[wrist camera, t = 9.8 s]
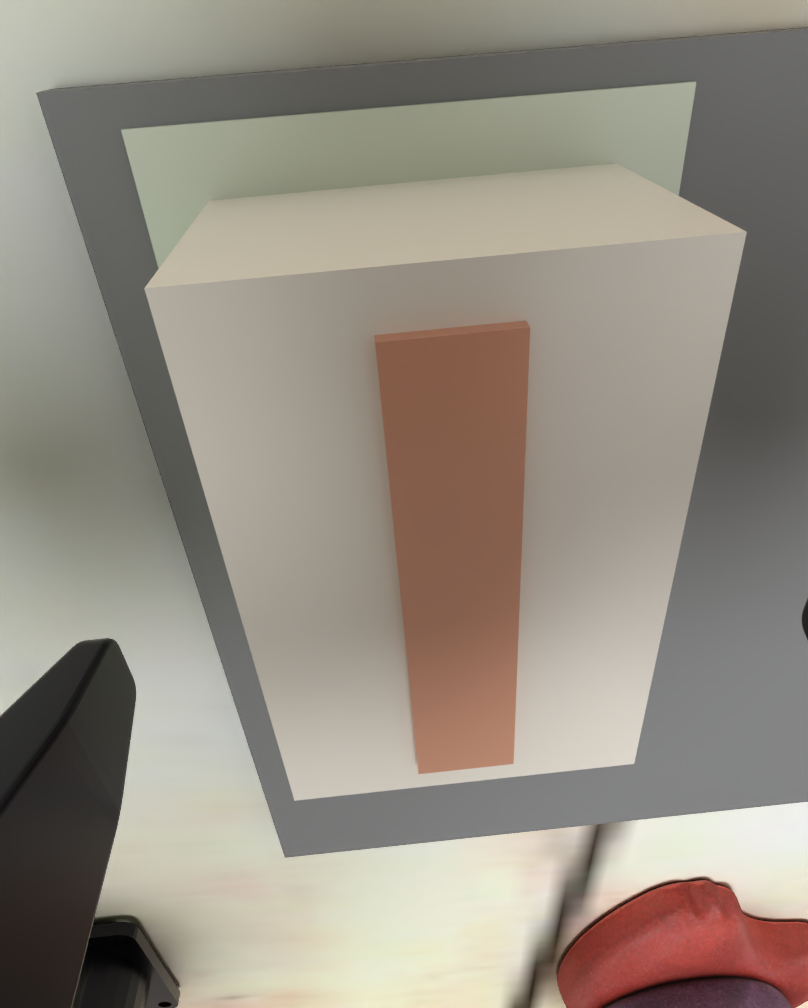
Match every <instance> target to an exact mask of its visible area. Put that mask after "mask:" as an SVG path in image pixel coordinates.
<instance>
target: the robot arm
mask: <svg viewBox="0 0 808 1008" xmlns="http://www.w3.org/2000/svg"><path fill="white" fill-rule="evenodd" d="M802 627H803V630H804V633H805V635H806V638H807V640H808V598H807V601H806V603H805V606H804V609H803V612H802ZM135 702H136V686H135V682H134V679H133V676H132V674H131V672H130V670H129V667H128V665H127V663H126V661H125V658H124V656H123V654H122V652H121V649H120V647H119V645H118V644H117V642H116V641H115V640H113V639H109V638H105V639H95V640H85V641H81V642H79V643H77V644H76V645H75V646H73V647H72V648H71V649H70V650H69V651H68V652H67V653H66V654H65V655H64V656H63V657H62V658H61V659H60V660H59V661H58V662H57V663H56V664H54V665H53V666H52V667H51V668H50V669H49V670H48V671H47V672H46V673H45V674H44V675H43V676H42V677H41V678H40V679H39V680H38V681H37V682H36V683H35V684H33V685H32V686H31V687H30V688H29V689H28V690H27V691H26V692H25V693H24V694H23V695H22V696H21V697H20V698H19V699H18V700H17V701H16V702H15V703H13V704H12V705H11V706H10V707H9V708H8V709H7V710H6V711H5V712H4V713H3V714H2V715H1V716H0V1008H175V1007H177V1006H178V1003H179V997H180V991H179V989H178V987H177V986H176V984H175V983H174V981H173V980H172V978H171V977H170V975H169V973H168V972H167V970H166V969H165V967H164V966H163V964H162V963H161V961H160V959H159V958H158V956H157V955H156V953H155V952H154V950H153V949H152V947H151V945H150V944H149V942H148V941H147V939H146V938H145V936H144V935H143V933H142V931H141V930H140V928H139V927H138V926H137V925H135V924H133V923H128V922H117V923H107V924H98V925H93V921H94V917H95V913H96V909H97V905H98V901H99V897H100V893H101V889H102V885H103V881H104V877H105V873H106V869H107V865H108V861H109V857H110V853H111V849H112V845H113V841H114V837H115V833H116V829H117V824H118V820H119V816H120V810H121V804H122V798H123V791H124V783H125V776H126V768H127V761H128V754H129V746H130V739H131V731H132V724H133V716H134V709H135Z"/></svg>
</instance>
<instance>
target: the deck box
mask: <svg viewBox="0 0 808 1008" xmlns="http://www.w3.org/2000/svg"><path fill="white" fill-rule="evenodd" d="M746 234H747V232H746V231H744V230H742V229H741V228H739V227H737V226H735V225H733V224H731V223H729V222H727V221H725V220H723V219H722V218H720V217H718V216H716V215H714V214H712V213H710V212H708V211H706V210H704V209H703V208H701V207H699V206H697V205H695V204H693V203H691V202H689V201H687V200H685V199H684V198H682V197H680V196H678V195H676V194H674V193H672V192H670V191H668V190H666V189H664V188H663V187H661V186H659V185H657V184H655V183H653V182H651V181H649V180H647V179H645V178H644V177H642V176H640V175H638V174H636V173H634V172H632V171H630V170H628V169H626V168H625V167H623V166H621V165H619V164H617V163H612V164H601V165H590V166H579V167H569V168H558V169H547V170H536V171H525V172H514V173H503V174H492V175H481V176H470V177H460V178H449V179H438V180H427V181H416V182H405V183H394V184H383V185H372V186H362V187H351V188H340V189H329V190H318V191H307V192H296V193H285V194H274V195H263V196H253V197H242V198H231V199H220V200H209V201H208V202H207V204H206V205H205V207H204V208H203V209H202V211H201V212H200V213H199V215H198V216H197V217H196V219H195V220H194V222H193V223H192V224H191V226H190V227H189V228H188V230H187V231H186V232H185V234H184V235H183V236H182V238H181V239H180V241H179V242H178V243H177V245H176V246H175V247H174V249H173V250H172V251H171V253H170V254H169V256H168V257H167V258H166V260H165V261H164V262H163V264H162V265H161V266H160V268H159V269H158V271H157V272H156V273H155V275H154V276H153V277H152V279H151V280H150V281H149V283H148V284H147V285H146V287H145V288H144V289H145V293H146V296H147V299H148V303H149V306H150V310H151V313H152V316H153V320H154V323H155V327H156V330H157V334H158V337H159V340H160V344H161V347H162V351H163V354H164V357H165V361H166V364H167V368H168V371H169V374H170V378H171V381H172V385H173V388H174V392H175V395H176V398H177V402H178V405H179V409H180V412H181V415H182V419H183V422H184V426H185V429H186V432H187V436H188V439H189V443H190V446H191V450H192V453H193V456H194V460H195V463H196V467H197V470H198V473H199V477H200V480H201V484H202V487H203V490H204V494H205V497H206V501H207V504H208V508H209V511H210V514H211V518H212V521H213V525H214V528H215V531H216V535H217V538H218V542H219V545H220V548H221V552H222V555H223V559H224V562H225V566H226V569H227V572H228V576H229V579H230V583H231V586H232V589H233V593H234V596H235V600H236V603H237V606H238V610H239V613H240V617H241V620H242V624H243V627H244V630H245V634H246V637H247V641H248V644H249V647H250V651H251V654H252V658H253V661H254V664H255V668H256V671H257V675H258V678H259V682H260V685H261V688H262V692H263V695H264V699H265V702H266V705H267V709H268V712H269V716H270V719H271V722H272V726H273V729H274V733H275V736H276V740H277V743H278V746H279V750H280V753H281V757H282V760H283V763H284V767H285V770H286V774H287V777H288V780H289V784H290V787H291V791H292V794H293V798H294V801H297V800H306V799H316V798H325V797H334V796H343V795H353V794H362V793H371V792H380V791H389V790H399V789H408V788H417V787H426V786H435V785H445V784H454V783H463V782H472V781H482V780H491V779H500V778H509V777H518V776H528V775H537V774H546V773H555V772H564V771H574V770H583V769H592V768H601V767H611V766H620V765H629V764H634V762H635V758H636V753H637V748H638V743H639V739H640V734H641V729H642V725H643V720H644V715H645V710H646V706H647V701H648V696H649V692H650V687H651V682H652V677H653V673H654V668H655V663H656V658H657V654H658V649H659V644H660V640H661V635H662V630H663V625H664V621H665V616H666V611H667V607H668V602H669V597H670V592H671V588H672V583H673V578H674V574H675V569H676V564H677V559H678V555H679V550H680V545H681V540H682V536H683V531H684V526H685V522H686V517H687V512H688V507H689V503H690V498H691V493H692V489H693V484H694V479H695V474H696V470H697V465H698V460H699V455H700V451H701V446H702V441H703V437H704V432H705V427H706V422H707V418H708V413H709V408H710V404H711V399H712V394H713V389H714V385H715V380H716V375H717V370H718V366H719V361H720V356H721V352H722V347H723V342H724V337H725V333H726V328H727V323H728V319H729V314H730V309H731V304H732V300H733V295H734V290H735V286H736V281H737V276H738V271H739V267H740V262H741V257H742V252H743V248H744V243H745V238H746Z"/></svg>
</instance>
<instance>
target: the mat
mask: <svg viewBox="0 0 808 1008" xmlns="http://www.w3.org/2000/svg"><path fill="white" fill-rule="evenodd" d="M37 96H38V100H39V103H40V106H41V109H42V112H43V115H44V118H45V121H46V124H47V127H48V130H49V133H50V136H51V139H52V143H53V146H54V149H55V152H56V155H57V158H58V161H59V164H60V167H61V170H62V173H63V176H64V179H65V183H66V186H67V189H68V192H69V195H70V198H71V201H72V204H73V207H74V210H75V213H76V216H77V219H78V222H79V226H80V229H81V232H82V235H83V238H84V241H85V244H86V247H87V250H88V253H89V256H90V259H91V262H92V266H93V269H94V272H95V275H96V278H97V281H98V284H99V287H100V290H101V293H102V296H103V299H104V302H105V306H106V309H107V312H108V315H109V318H110V321H111V324H112V327H113V330H114V333H115V336H116V339H117V342H118V345H119V349H120V352H121V355H122V358H123V361H124V364H125V367H126V370H127V373H128V376H129V379H130V382H131V385H132V389H133V392H134V395H135V398H136V401H137V404H138V407H139V410H140V413H141V416H142V419H143V422H144V425H145V428H146V432H147V435H148V438H149V441H150V444H151V447H152V450H153V453H154V456H155V459H156V462H157V465H158V468H159V472H160V475H161V478H162V481H163V484H164V487H165V490H166V493H167V496H168V499H169V502H170V505H171V508H172V511H173V515H174V518H175V521H176V524H177V527H178V530H179V533H180V536H181V539H182V542H183V545H184V548H185V551H186V555H187V558H188V561H189V564H190V567H191V570H192V573H193V576H194V579H195V582H196V585H197V588H198V591H199V594H200V598H201V601H202V604H203V607H204V610H205V613H206V616H207V619H208V622H209V625H210V628H211V631H212V634H213V638H214V641H215V644H216V647H217V650H218V653H219V656H220V659H221V662H222V665H223V668H224V671H225V674H226V677H227V681H228V684H229V687H230V690H231V693H232V696H233V699H234V702H235V705H236V708H237V711H238V714H239V717H240V721H241V724H242V727H243V730H244V733H245V736H246V739H247V742H248V745H249V748H250V751H251V754H252V757H253V760H254V764H255V767H256V770H257V773H258V776H259V779H260V782H261V785H262V788H263V791H264V794H265V797H266V800H267V804H268V807H269V810H270V813H271V816H272V819H273V822H274V825H275V828H276V831H277V834H278V837H279V840H280V844H281V847H282V850H283V853H284V856H285V857H295V856H304V855H313V854H323V853H332V852H341V851H351V850H360V849H369V848H379V847H388V846H397V845H407V844H416V843H425V842H435V841H444V840H453V839H463V838H472V837H481V836H491V835H500V834H509V833H519V832H528V831H537V830H547V829H556V828H565V827H575V826H584V825H593V824H603V823H612V822H621V821H631V820H640V819H649V818H659V817H668V816H677V815H687V814H696V813H705V812H715V811H724V810H733V809H743V808H752V807H761V806H771V805H780V804H789V803H799V802H808V640H807V638H806V635H805V633H804V630H803V627H802V612H803V609H804V606H805V603H806V601H807V598H808V27H805V28H793V29H781V30H769V31H757V32H744V33H732V34H720V35H708V36H695V37H683V38H671V39H659V40H647V41H634V42H622V43H610V44H598V45H585V46H573V47H561V48H549V49H537V50H524V51H512V52H500V53H488V54H475V55H463V56H451V57H439V58H426V59H414V60H402V61H390V62H378V63H365V64H353V65H341V66H329V67H316V68H304V69H292V70H280V71H268V72H255V73H243V74H231V75H219V76H206V77H194V78H182V79H170V80H158V81H145V82H133V83H121V84H109V85H96V86H84V87H72V88H60V89H50V90H46V91H42V92H38V93H37ZM612 163H617V164H619V165H621V166H623V167H625V168H626V169H628V170H630V171H632V172H634V173H636V174H638V175H640V176H642V177H644V178H645V179H647V180H649V181H651V182H653V183H655V184H657V185H659V186H661V187H663V188H664V189H666V190H668V191H670V192H672V193H674V194H676V195H678V196H680V197H682V198H684V199H685V200H687V201H689V202H691V203H693V204H695V205H697V206H699V207H701V208H703V209H704V210H706V211H708V212H710V213H712V214H714V215H716V216H718V217H720V218H722V219H723V220H725V221H727V222H729V223H731V224H733V225H735V226H737V227H739V228H741V229H742V230H744V231H746V232H747V234H746V238H745V243H744V248H743V252H742V257H741V262H740V267H739V271H738V276H737V281H736V286H735V290H734V295H733V300H732V304H731V309H730V314H729V319H728V323H727V328H726V333H725V337H724V342H723V347H722V352H721V356H720V361H719V366H718V370H717V375H716V380H715V385H714V389H713V394H712V399H711V404H710V408H709V413H708V418H707V422H706V427H705V432H704V437H703V441H702V446H701V451H700V455H699V460H698V465H697V470H696V474H695V479H694V484H693V489H692V493H691V498H690V503H689V507H688V512H687V517H686V522H685V526H684V531H683V536H682V540H681V545H680V550H679V555H678V559H677V564H676V569H675V574H674V578H673V583H672V588H671V592H670V597H669V602H668V607H667V611H666V616H665V621H664V625H663V630H662V635H661V640H660V644H659V649H658V654H657V658H656V663H655V668H654V673H653V677H652V682H651V687H650V692H649V696H648V701H647V706H646V710H645V715H644V720H643V725H642V729H641V734H640V739H639V743H638V748H637V753H636V758H635V762H634V764H629V765H620V766H611V767H601V768H592V769H583V770H574V771H564V772H555V773H546V774H537V775H528V776H518V777H509V778H500V779H491V780H482V781H472V782H463V783H454V784H445V785H435V786H426V787H417V788H408V789H399V790H389V791H380V792H371V793H362V794H353V795H343V796H334V797H325V798H316V799H306V800H297V801H294V798H293V794H292V791H291V787H290V784H289V780H288V777H287V774H286V770H285V767H284V763H283V760H282V757H281V753H280V750H279V746H278V743H277V740H276V736H275V733H274V729H273V726H272V722H271V719H270V716H269V712H268V709H267V705H266V702H265V699H264V695H263V692H262V688H261V685H260V682H259V678H258V675H257V671H256V668H255V664H254V661H253V658H252V654H251V651H250V647H249V644H248V641H247V637H246V634H245V630H244V627H243V624H242V620H241V617H240V613H239V610H238V606H237V603H236V600H235V596H234V593H233V589H232V586H231V583H230V579H229V576H228V572H227V569H226V566H225V562H224V559H223V555H222V552H221V548H220V545H219V542H218V538H217V535H216V531H215V528H214V525H213V521H212V518H211V514H210V511H209V508H208V504H207V501H206V497H205V494H204V490H203V487H202V484H201V480H200V477H199V473H198V470H197V467H196V463H195V460H194V456H193V453H192V450H191V446H190V443H189V439H188V436H187V432H186V429H185V426H184V422H183V419H182V415H181V412H180V409H179V405H178V402H177V398H176V395H175V392H174V388H173V385H172V381H171V378H170V374H169V371H168V368H167V364H166V361H165V357H164V354H163V351H162V347H161V344H160V340H159V337H158V334H157V330H156V327H155V323H154V320H153V316H152V313H151V310H150V306H149V303H148V299H147V296H146V293H145V289H144V288H145V287H146V285H147V284H148V283H149V281H150V280H151V279H152V277H153V276H154V275H155V273H156V272H157V271H158V269H159V268H160V266H161V265H162V264H163V262H164V261H165V260H166V258H167V257H168V256H169V254H170V253H171V251H172V250H173V249H174V247H175V246H176V245H177V243H178V242H179V241H180V239H181V238H182V236H183V235H184V234H185V232H186V231H187V230H188V228H189V227H190V226H191V224H192V223H193V222H194V220H195V219H196V217H197V216H198V215H199V213H200V212H201V211H202V209H203V208H204V207H205V205H206V204H207V202H208V201H209V200H220V199H231V198H242V197H253V196H263V195H274V194H285V193H296V192H307V191H318V190H329V189H340V188H351V187H362V186H372V185H383V184H394V183H405V182H416V181H427V180H438V179H449V178H460V177H470V176H481V175H492V174H503V173H514V172H525V171H536V170H547V169H558V168H569V167H579V166H590V165H601V164H612Z"/></svg>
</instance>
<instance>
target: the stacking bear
mask: <svg viewBox="0 0 808 1008" xmlns="http://www.w3.org/2000/svg"><path fill="white" fill-rule="evenodd" d="M557 981H558V987H559V991H560V993H561V996H562V999H563V1001H564V1003H565V1005H566V1008H796V1007H798V1006H799V1005H801V1004H803V1003H804V1002H806V1001H808V923H804V922H769V921H761V920H756V919H753V918H750V917H748V916H746V915H744V914H742V911H741V908H740V905H739V902H738V900H737V898H736V896H735V894H734V892H733V891H732V890H731V889H728V888H726V887H724V886H719V885H716V884H714V883H712V882H710V881H706V880H698V881H691V882H678V883H673V884H669V885H665V886H662V887H659V888H657V889H654V890H651V891H649V892H647V893H645V894H643V895H641V896H639V897H637V898H635V899H633V900H632V901H630V902H628V903H626V904H624V905H623V906H621V907H620V908H618V909H617V910H615V911H613V912H612V913H610V914H609V915H607V916H606V917H604V918H603V919H601V920H600V921H599V922H598V923H597V924H595V925H594V926H593V927H592V928H590V929H589V930H588V931H587V932H586V933H585V934H584V935H582V936H581V937H580V938H579V939H578V941H577V942H576V943H575V944H574V945H573V946H572V948H571V949H570V950H569V951H568V953H567V954H566V956H565V958H564V959H563V961H562V963H561V966H560V969H559V972H558V977H557Z"/></svg>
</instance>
